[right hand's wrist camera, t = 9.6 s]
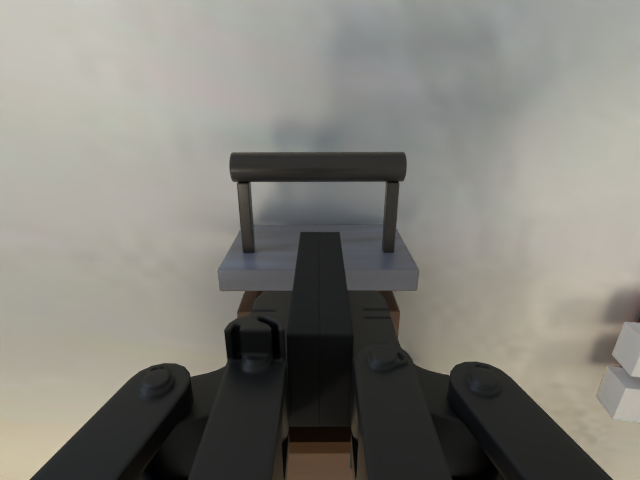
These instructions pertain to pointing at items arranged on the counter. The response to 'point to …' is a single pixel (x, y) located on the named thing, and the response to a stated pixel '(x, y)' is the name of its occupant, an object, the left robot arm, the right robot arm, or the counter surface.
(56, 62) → the counter surface
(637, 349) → the toy
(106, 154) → the counter surface
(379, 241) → the drawer
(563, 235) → the counter surface
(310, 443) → the cabinet
